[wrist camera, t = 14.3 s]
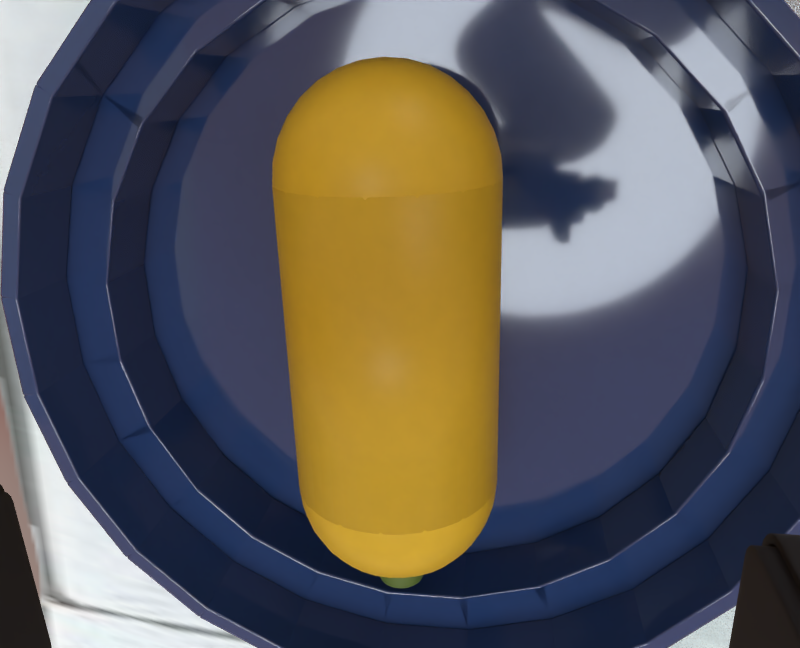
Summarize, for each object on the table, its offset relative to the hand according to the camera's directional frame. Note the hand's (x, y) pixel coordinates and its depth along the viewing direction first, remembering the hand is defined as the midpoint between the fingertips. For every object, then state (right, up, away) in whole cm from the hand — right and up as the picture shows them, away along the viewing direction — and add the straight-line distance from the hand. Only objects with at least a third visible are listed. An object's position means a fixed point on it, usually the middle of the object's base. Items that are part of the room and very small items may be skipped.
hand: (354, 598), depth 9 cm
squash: (+1, +4, +13) cm, 13 cm away
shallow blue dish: (+2, +4, +13) cm, 14 cm away
